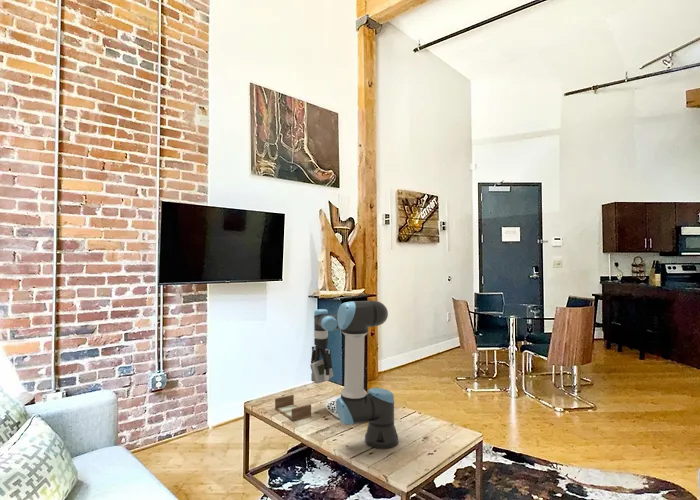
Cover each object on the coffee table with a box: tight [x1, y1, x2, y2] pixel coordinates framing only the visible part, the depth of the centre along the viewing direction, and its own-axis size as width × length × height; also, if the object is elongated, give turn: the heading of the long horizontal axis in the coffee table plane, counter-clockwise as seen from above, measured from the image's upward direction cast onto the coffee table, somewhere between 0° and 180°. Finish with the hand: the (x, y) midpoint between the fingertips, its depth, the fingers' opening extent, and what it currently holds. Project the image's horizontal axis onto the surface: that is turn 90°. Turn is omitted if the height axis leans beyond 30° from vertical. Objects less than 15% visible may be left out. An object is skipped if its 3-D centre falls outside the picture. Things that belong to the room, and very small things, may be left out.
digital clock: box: [310, 358, 334, 385], centre depth 224 cm, size 16×9×11 cm, turn 138°
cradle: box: [274, 394, 312, 422], centre depth 222 cm, size 20×11×6 cm, turn 36°
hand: (321, 379), depth 224 cm, fingers closed on digital clock, 8 cm apart
